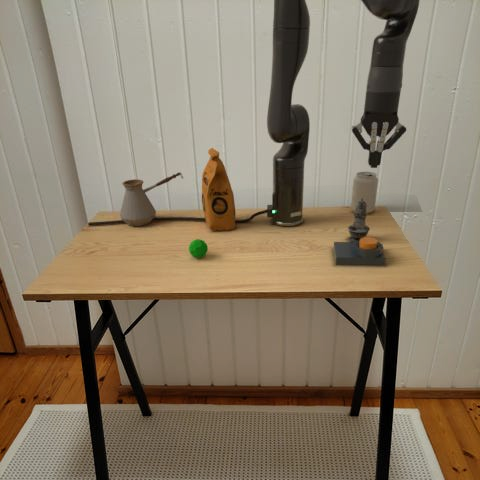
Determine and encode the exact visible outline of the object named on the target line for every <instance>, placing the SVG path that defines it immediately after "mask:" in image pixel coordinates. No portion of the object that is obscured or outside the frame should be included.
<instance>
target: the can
mask: <svg viewBox="0 0 480 480" xmlns="http://www.w3.org/2000/svg"><path fill="white" fill-rule="evenodd" d="M378 185H379V178H378V177H377V173H376V172H373V171H358V172H356V174H355V176H354V177H353V181H352V191H351V202H350V210H352V211H353V212H354V213H355V211H356V204H357V203H358V202H360V201H361V199H363V201H364V202H365V203H366V204H367V207H366V214H367V215H368V214H371V213H372V212H373V211H375V208H376V202H377V201H376V200H377V193H378Z"/></svg>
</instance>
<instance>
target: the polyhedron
mask: <svg viewBox="0 0 480 480" xmlns="http://www.w3.org/2000/svg"><path fill="white" fill-rule="evenodd" d="M208 247H209V246H208V244H207V243H206V242H205V240H203V239H199V238H197V239H194V240H191V242H190V243H189V246H188V252H189V253H190V254H189V255H191V257H193V258H196V259H201V258H203V257H205V256H206V255H207V253H208V250H209V248H208Z"/></svg>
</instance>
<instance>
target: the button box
mask: <svg viewBox="0 0 480 480" xmlns="http://www.w3.org/2000/svg"><path fill="white" fill-rule="evenodd" d="M332 247H333V249H332V250H333V256H334V264H335V266H364V267H367V266H368V267H385V264H386V256H385V254H384V246H383V243H382V242H379V241H378V243H377V248H376V249H372V250H366V249H362V248H360V247H359V241H356V242H349V241H333V246H332Z"/></svg>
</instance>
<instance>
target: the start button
mask: <svg viewBox="0 0 480 480" xmlns="http://www.w3.org/2000/svg"><path fill="white" fill-rule="evenodd" d="M378 242H379V240H378V239H377V238H375V237H370V236H365V237H364V238H361V239H360V241H359V247H360V248H362V249H366V250H372V249H376V248H377V243H378Z"/></svg>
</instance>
